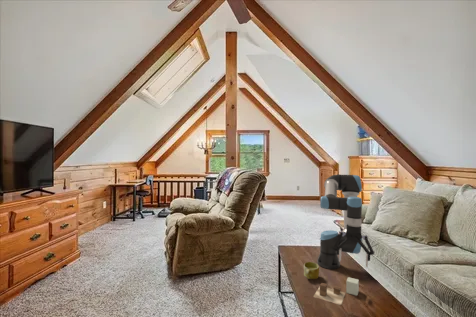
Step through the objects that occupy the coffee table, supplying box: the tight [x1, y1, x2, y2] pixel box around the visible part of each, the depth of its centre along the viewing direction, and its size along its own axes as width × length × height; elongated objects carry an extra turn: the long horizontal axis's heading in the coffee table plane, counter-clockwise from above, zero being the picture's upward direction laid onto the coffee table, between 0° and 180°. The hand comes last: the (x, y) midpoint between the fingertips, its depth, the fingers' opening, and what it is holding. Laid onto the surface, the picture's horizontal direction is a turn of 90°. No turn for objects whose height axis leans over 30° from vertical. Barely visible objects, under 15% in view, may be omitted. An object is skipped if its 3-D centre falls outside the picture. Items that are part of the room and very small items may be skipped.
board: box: [313, 285, 346, 306], centre depth 140 cm, size 14×14×4 cm
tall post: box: [319, 282, 328, 297], centre depth 140 cm, size 3×3×6 cm
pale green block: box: [345, 276, 360, 296], centre depth 144 cm, size 6×6×8 cm
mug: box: [303, 261, 320, 280], centre depth 162 cm, size 12×10×10 cm
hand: (353, 263), depth 143 cm, fingers open, 13 cm apart
